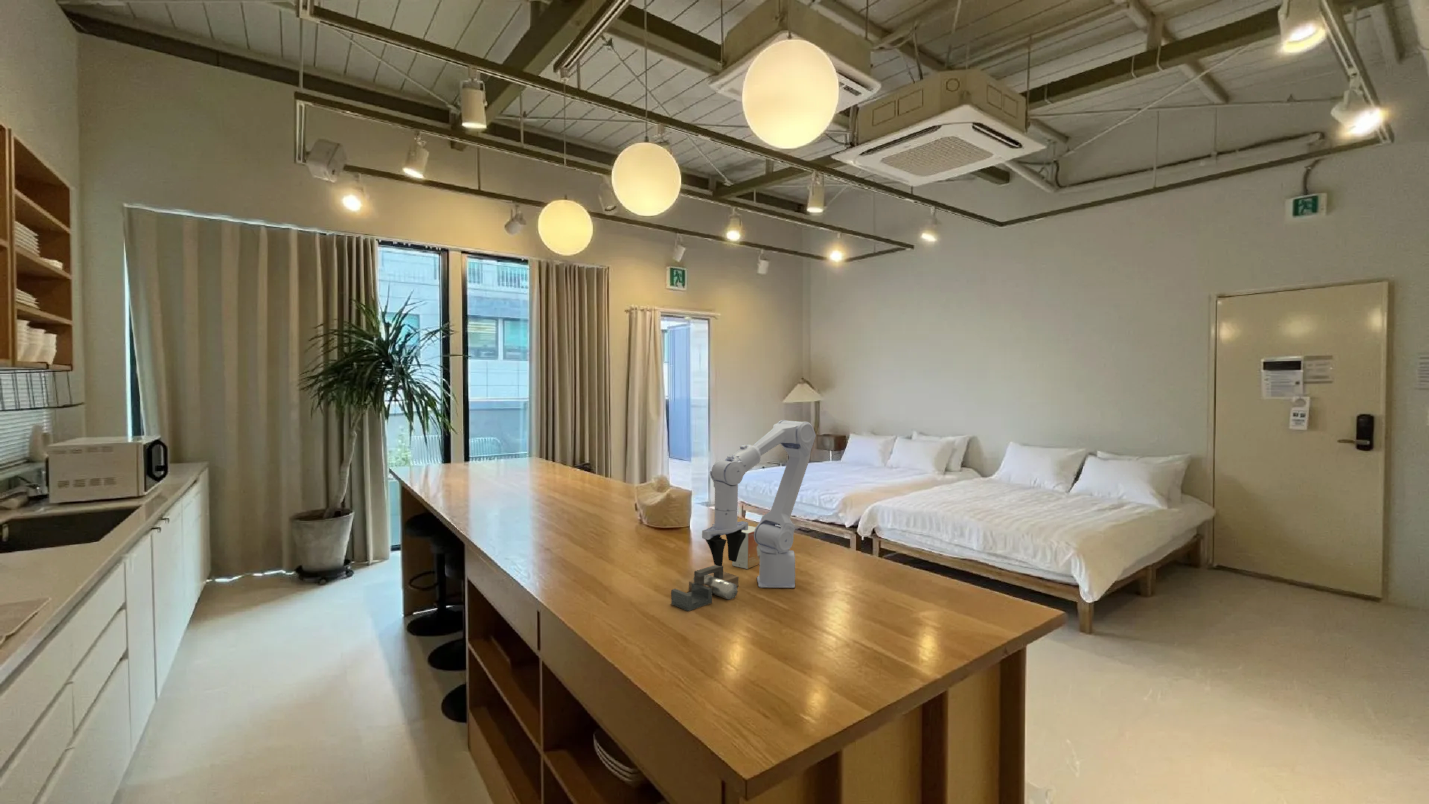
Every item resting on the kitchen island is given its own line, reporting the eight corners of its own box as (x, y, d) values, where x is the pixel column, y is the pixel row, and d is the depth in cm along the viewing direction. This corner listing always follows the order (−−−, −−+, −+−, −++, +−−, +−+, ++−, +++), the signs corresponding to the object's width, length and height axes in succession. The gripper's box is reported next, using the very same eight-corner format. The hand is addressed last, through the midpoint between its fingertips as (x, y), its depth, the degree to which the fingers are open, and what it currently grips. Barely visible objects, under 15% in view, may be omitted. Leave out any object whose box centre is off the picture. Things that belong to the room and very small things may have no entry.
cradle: (671, 604, 142) (671, 589, 142) (695, 596, 148) (695, 582, 148) (687, 611, 138) (688, 596, 138) (711, 602, 144) (712, 588, 144)
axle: (693, 589, 154) (692, 574, 153) (704, 584, 157) (703, 570, 156) (726, 602, 145) (725, 586, 145) (737, 597, 148) (737, 581, 148)
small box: (747, 569, 169) (748, 533, 169) (731, 565, 173) (732, 530, 172) (762, 563, 176) (763, 528, 175) (746, 559, 179) (747, 525, 179)
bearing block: (688, 591, 152) (689, 569, 151) (722, 580, 160) (722, 559, 160) (705, 597, 147) (705, 575, 147) (738, 585, 156) (738, 564, 156)
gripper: (734, 502, 155) (733, 553, 156) (693, 510, 145) (693, 565, 146) (754, 506, 150) (753, 559, 151) (713, 515, 140) (713, 572, 141)
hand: (725, 562), depth 148 cm, fingers open, 5 cm apart
